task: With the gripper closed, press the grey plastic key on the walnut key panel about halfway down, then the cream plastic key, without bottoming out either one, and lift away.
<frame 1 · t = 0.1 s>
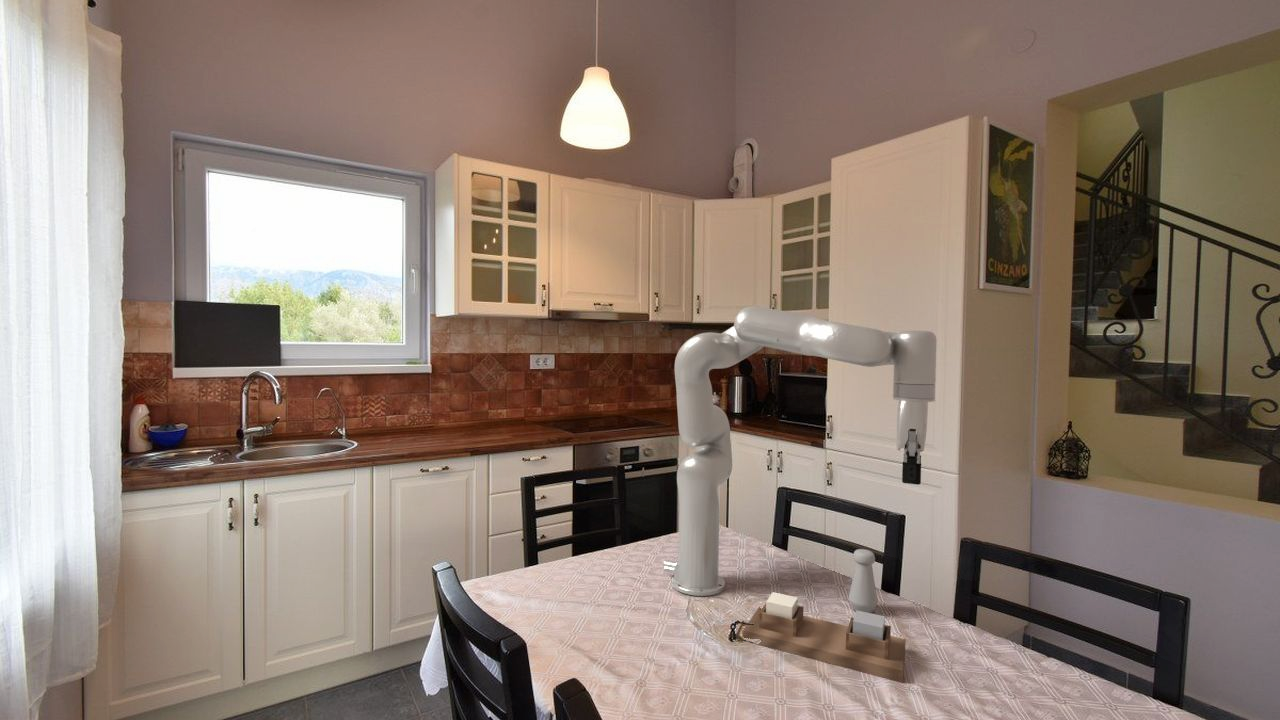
hand: (911, 478, 113), 31 cm above the table, tool pointing down, fingers open, 9 cm apart
grey key: (868, 625, 104), point 6 cm above the table, slide at 0.0 cm
key panel: (823, 645, 108), on the table
cream key: (781, 605, 112), point 6 cm above the table, slide at 0.0 cm
salt shaker: (862, 611, 123), on the table
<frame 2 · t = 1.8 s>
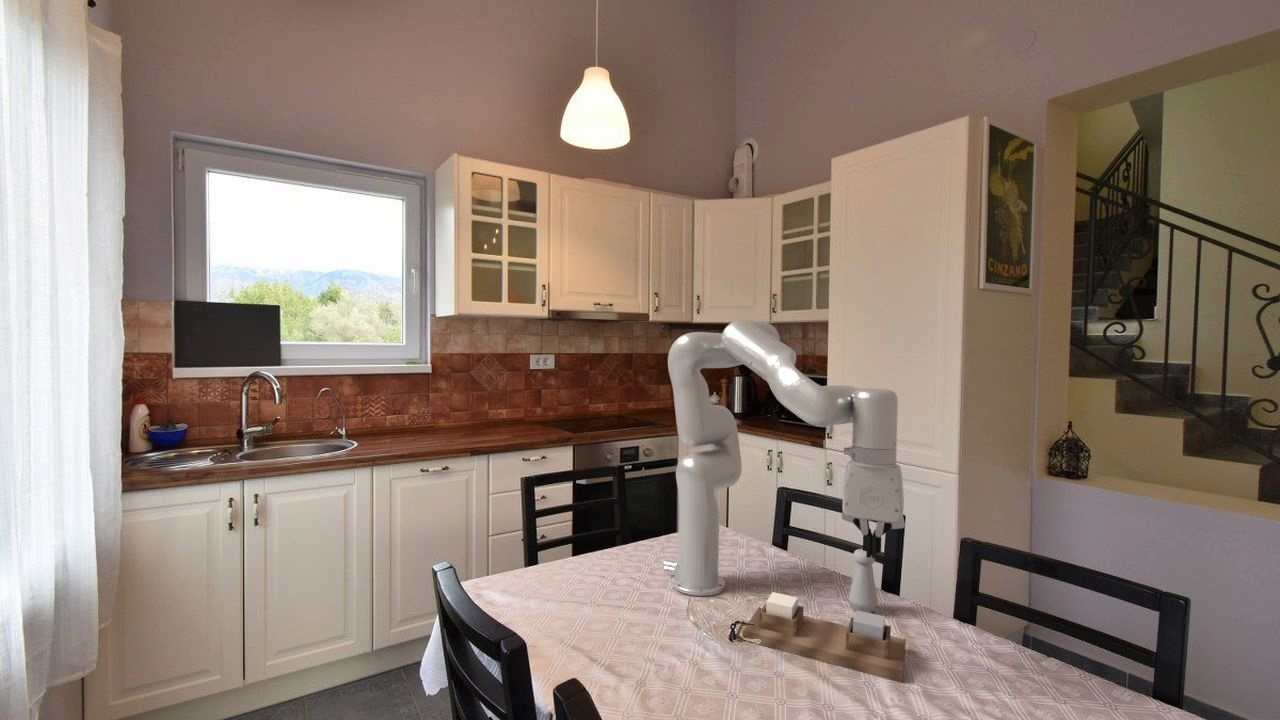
hand: (871, 555, 104), 19 cm above the table, tool pointing down, fingers closed
nothing on the table moved.
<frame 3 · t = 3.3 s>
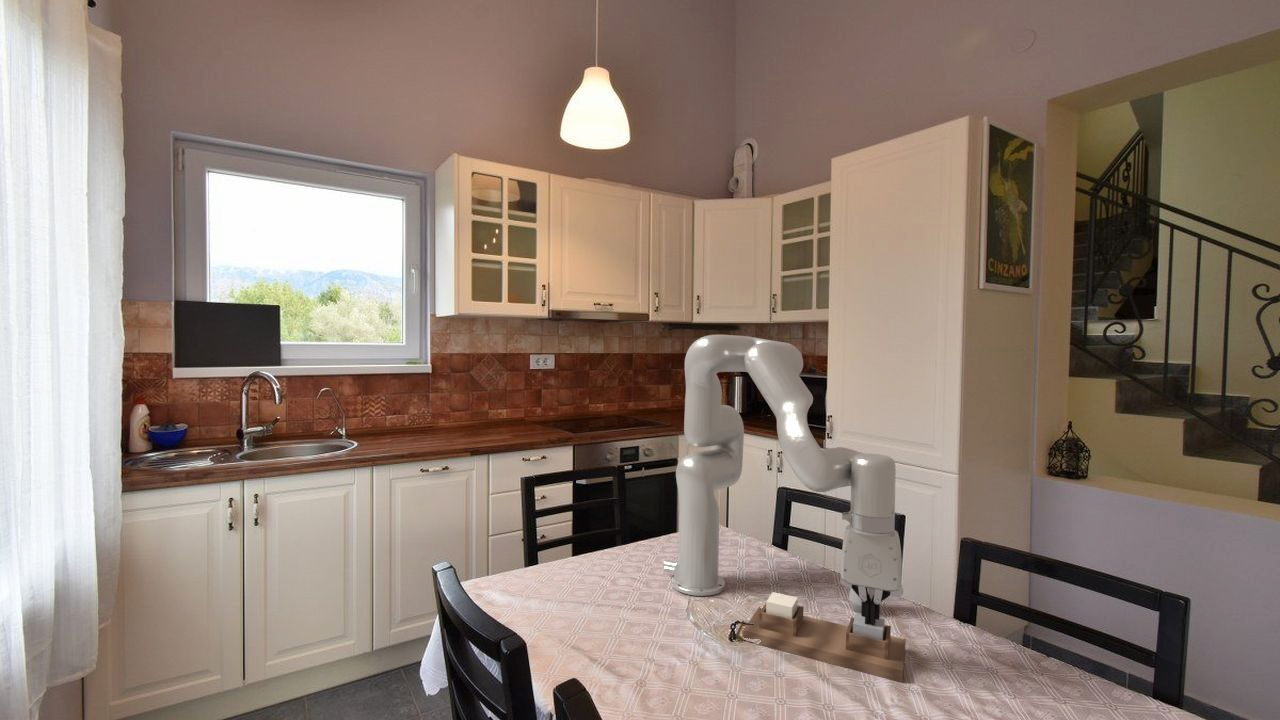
hand: (870, 621, 104), 7 cm above the table, tool pointing down, fingers closed
grey key: (868, 627, 104), point 5 cm above the table, slide at 0.5 cm, touching gripper
everything else where it was.
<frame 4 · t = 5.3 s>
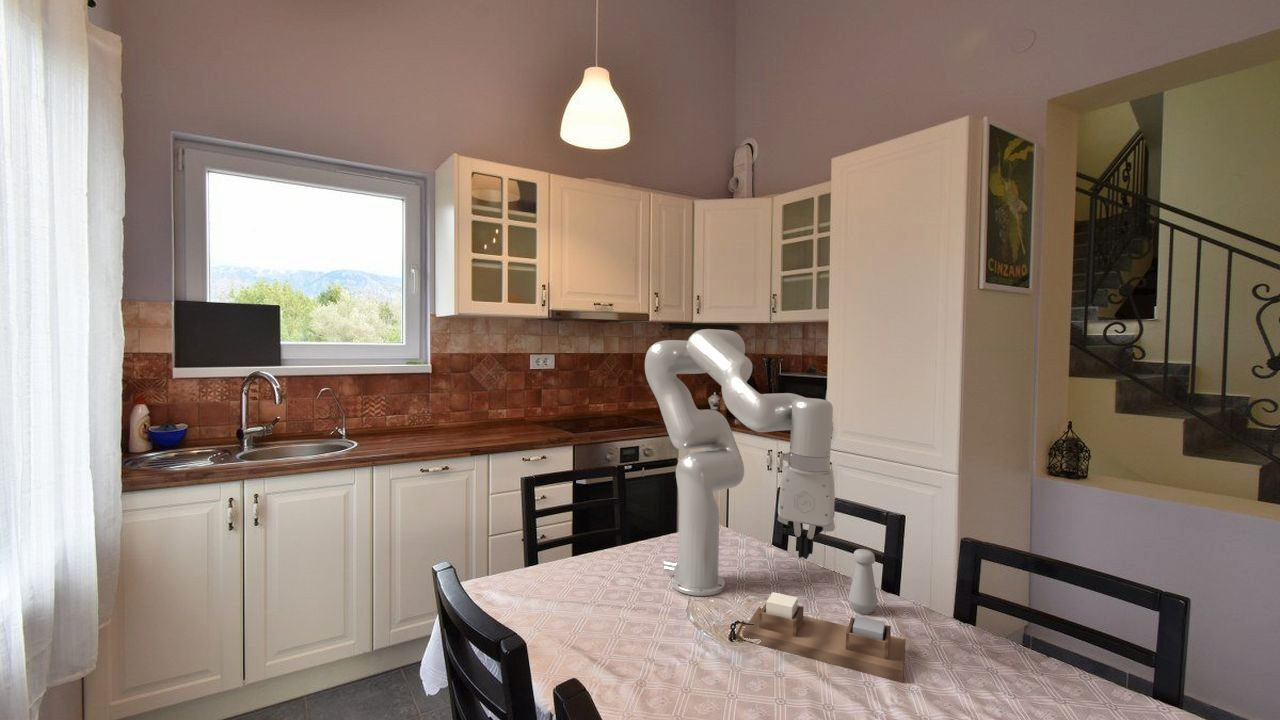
hand: (803, 555, 110), 16 cm above the table, tool pointing down, fingers closed
grey key: (868, 630, 104), point 5 cm above the table, slide at 1.0 cm
everything else where it was.
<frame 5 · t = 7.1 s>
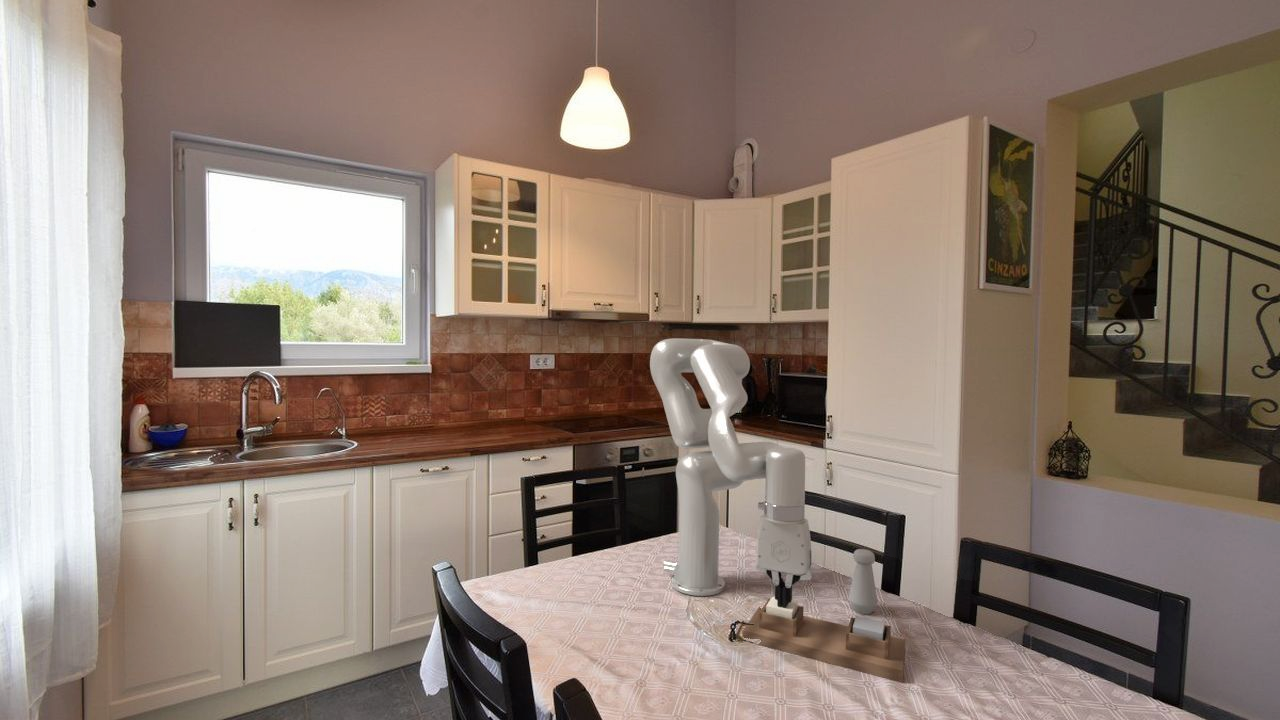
hand: (783, 604, 111), 6 cm above the table, tool pointing down, fingers closed
cream key: (781, 609, 112), point 5 cm above the table, slide at 0.9 cm, touching gripper
everything else where it was.
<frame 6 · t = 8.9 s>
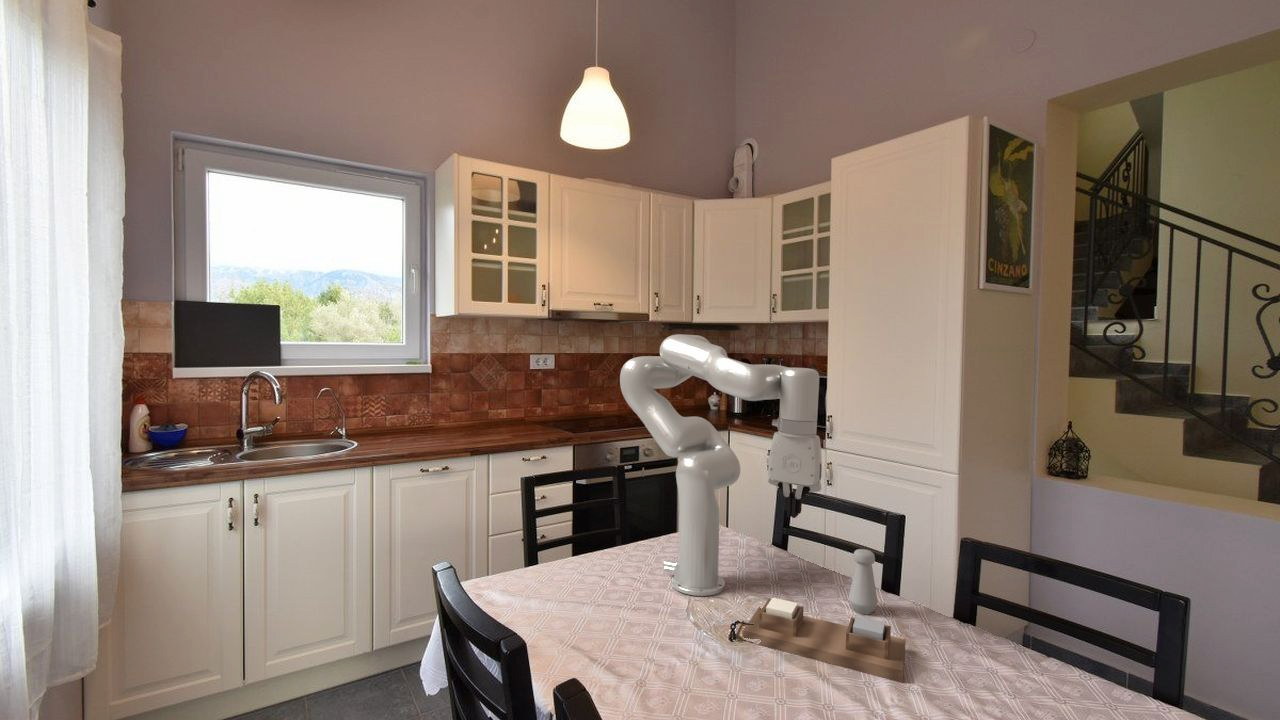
hand: (792, 515, 117), 22 cm above the table, tool pointing down, fingers closed
cream key: (781, 611, 112), point 5 cm above the table, slide at 1.1 cm
everything else where it was.
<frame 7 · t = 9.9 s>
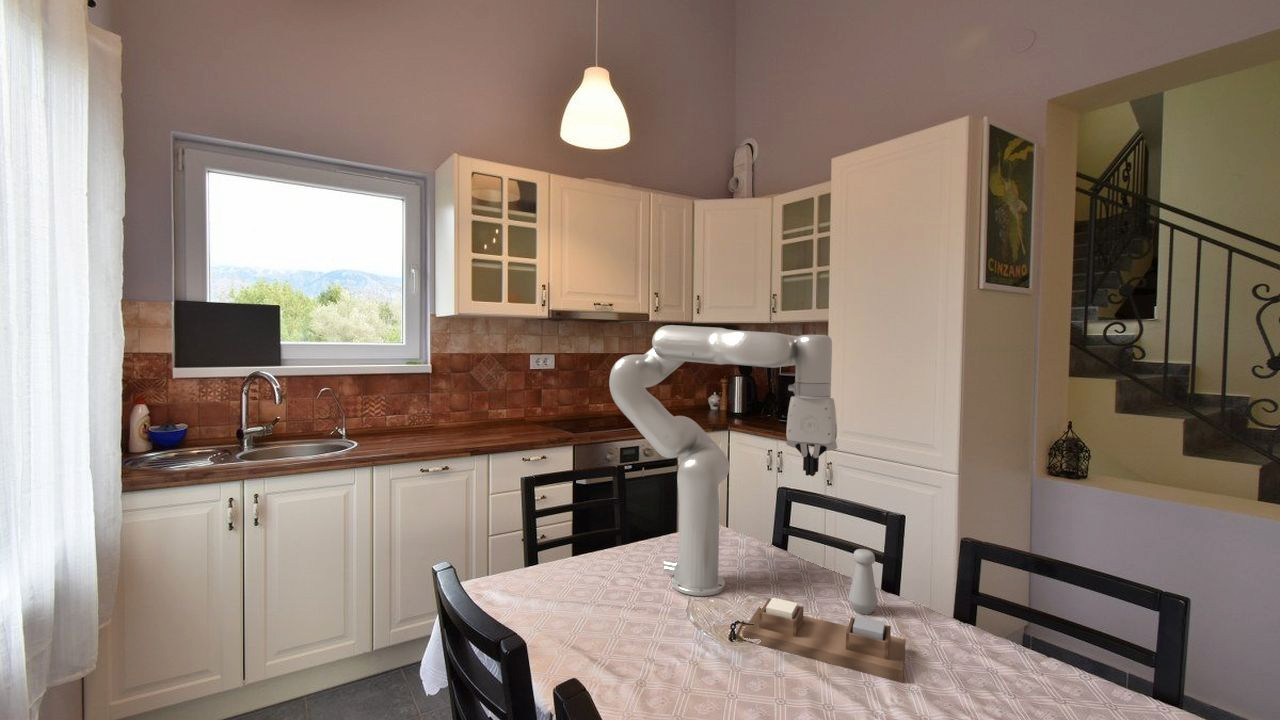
hand: (810, 474, 124), 29 cm above the table, tool pointing down, fingers closed
nothing on the table moved.
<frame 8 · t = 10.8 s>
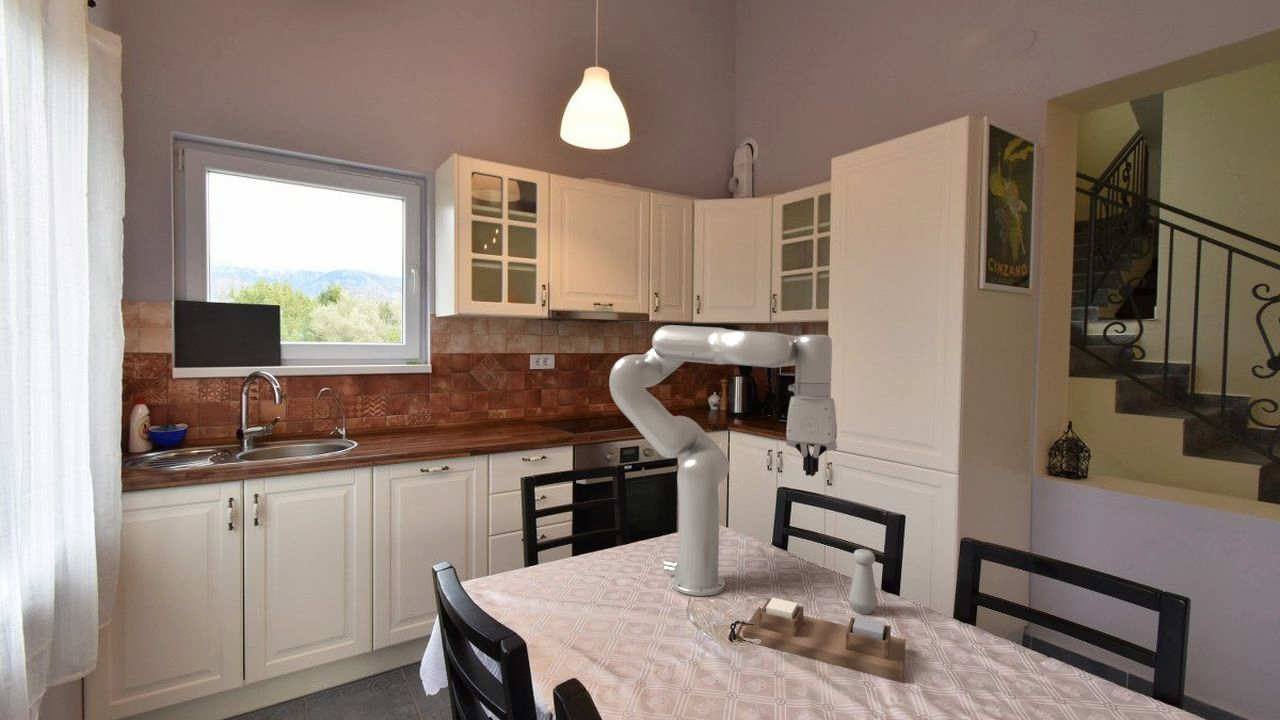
hand: (810, 474, 124), 29 cm above the table, tool pointing down, fingers closed
nothing on the table moved.
at the end: grey key slide at 1.0 cm; cream key slide at 1.1 cm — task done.
